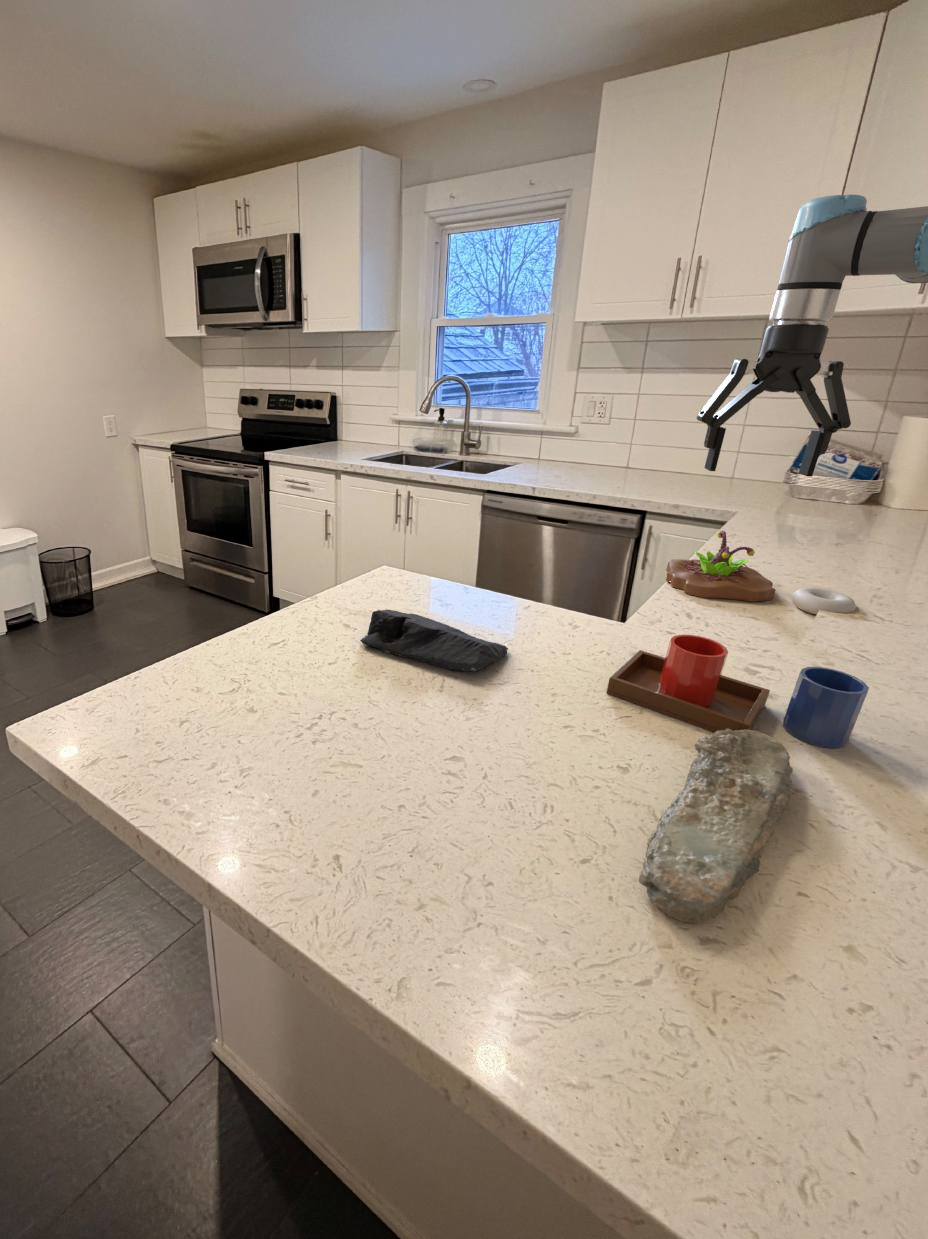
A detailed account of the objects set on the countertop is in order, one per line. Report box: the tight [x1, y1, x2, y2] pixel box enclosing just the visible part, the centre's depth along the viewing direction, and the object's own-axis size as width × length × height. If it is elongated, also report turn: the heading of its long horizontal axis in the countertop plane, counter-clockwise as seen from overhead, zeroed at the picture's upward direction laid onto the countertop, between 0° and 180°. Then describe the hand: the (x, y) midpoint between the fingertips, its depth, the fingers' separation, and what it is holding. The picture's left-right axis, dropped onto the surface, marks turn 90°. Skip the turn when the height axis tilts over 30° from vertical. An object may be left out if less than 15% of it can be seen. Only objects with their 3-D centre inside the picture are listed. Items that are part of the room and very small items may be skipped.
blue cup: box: [782, 666, 870, 749], centre depth 83 cm, size 7×7×8 cm
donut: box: [791, 586, 857, 616], centre depth 123 cm, size 10×4×10 cm
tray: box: [605, 649, 771, 733], centre depth 91 cm, size 18×13×3 cm
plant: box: [665, 530, 776, 603], centre depth 134 cm, size 20×20×11 cm
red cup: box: [658, 634, 729, 708], centre depth 90 cm, size 7×7×8 cm
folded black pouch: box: [359, 609, 509, 672], centre depth 104 cm, size 15×22×5 cm
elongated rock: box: [638, 728, 794, 925], centre depth 67 cm, size 35×5×10 cm
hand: (756, 472), depth 100 cm, fingers open, 13 cm apart
